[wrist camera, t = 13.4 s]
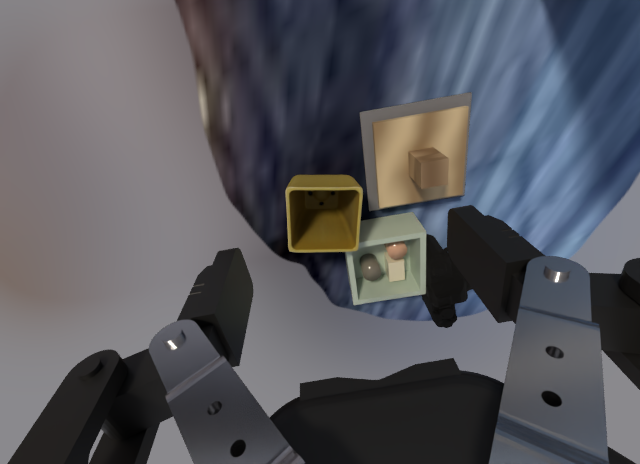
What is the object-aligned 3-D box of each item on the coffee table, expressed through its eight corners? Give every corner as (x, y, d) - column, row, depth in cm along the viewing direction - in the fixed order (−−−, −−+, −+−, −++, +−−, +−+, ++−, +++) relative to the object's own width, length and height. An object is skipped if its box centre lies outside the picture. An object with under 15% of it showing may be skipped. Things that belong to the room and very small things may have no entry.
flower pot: (290, 220, 47) (288, 253, 39) (288, 163, 43) (285, 187, 35) (349, 219, 47) (358, 252, 39) (352, 162, 43) (363, 186, 35)
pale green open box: (412, 212, 47) (426, 231, 42) (413, 270, 53) (425, 293, 47) (340, 224, 48) (344, 245, 42) (348, 280, 53) (353, 305, 48)
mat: (470, 92, 39) (471, 92, 39) (463, 194, 46) (464, 195, 46) (359, 112, 40) (359, 112, 39) (368, 210, 47) (369, 211, 46)
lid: (461, 104, 40) (490, 113, 33) (456, 189, 45) (480, 210, 39) (370, 120, 40) (382, 132, 34) (376, 202, 46) (387, 225, 40)
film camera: (473, 291, 56) (500, 329, 48) (418, 303, 57) (437, 343, 49) (470, 218, 48) (503, 249, 40) (408, 233, 49) (428, 267, 41)
